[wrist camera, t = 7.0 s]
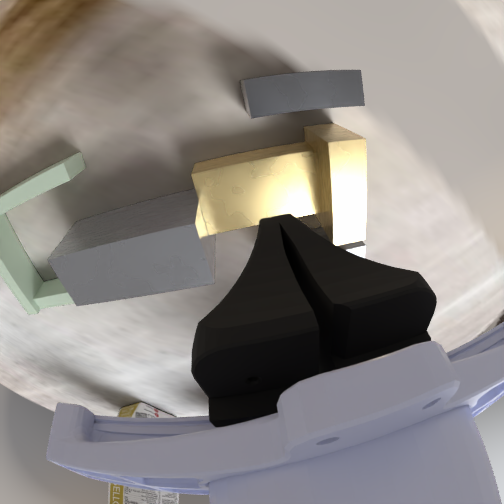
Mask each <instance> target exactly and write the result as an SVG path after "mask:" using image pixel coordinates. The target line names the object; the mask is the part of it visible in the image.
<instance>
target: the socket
mask: <svg viewBox="0 0 504 504" xmlns="http://www.w3.org/2000/svg"><path fill="white" fill-rule="evenodd" d="M240 83H241V88H242V93H243V98H244V103H245V107H246V112H247V113H248V115H249V116H250V117H251V118H257V117H263V116H269V115H275V114H282V113H289V112H296V111H304V110H313V109H323V108H335V107H349V106H365V104H364V93H363V84H362V76H361V70H327V71H311V72H298V73H288V74H280V75H272V76H265V77H258V78H252V79H246V80H240ZM311 230H313V231H314V232H315V233H317V234H318V235H320V236H321V237H323V238H325V239H326V240H328V241H329V242H331V241H330V239H329V237H328V236H327V234H326V232H325V231H324V229H323V227H320V228H315V229H311ZM331 243H332V242H331ZM338 247H340V248H342V249H344V250H346V251H348V252H351V253H353V254H355V255H358V256H360V257H363V258H365V249H366V245H365V244H364V243H363V241H362V240H361V241H356V242H352V243H347V244H342V245H338Z"/></svg>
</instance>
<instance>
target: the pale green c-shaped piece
mask: <svg viewBox="0 0 504 504" xmlns="http://www.w3.org/2000/svg"><path fill="white" fill-rule="evenodd" d="M85 168H86V166H85V163H84V160H83V157H82V154H81V152H79V153H77V154H74V155H72V156H70V157H68V158H66V159H64V160H62V161H60V162H58V163H56V164H54V165H52V166H50V167H48V168H46V169H44V170H42V171H40V172H38V173H37V174H35V175H33V176H31V177H29V178H28V179H26V180H24V181H22V182H21V183H19V184H17V185H16V186H14V187H12V188H11V189H9V190H7V191H6V192H4V193H3V194H1V195H0V275H1V276H2V278H3V280H4V281H5V283H6V284H7V286H8V287H9V289H10V290H11V291H12V293H13V294H14V296H15V297H16V298H17V300H18V301H19V303H20V304H21V305H22V307H23V308H24V309H25V311H26V312H27V313H28V314H29V315H31V314H38V313H39V311H40V309H43V308H49V307H55V306H61V305H67V304H74V301H73V300H72V298H71V297H70V295H69V294H68V292H67V291H66V289H65V288H64V286H63V285H62V283H61V282H60V280H59V278H57V279H53V280H49V281H45V282H43V280H42V278H41V277H40V275H39V274H38V272H37V271H36V269H35V267H34V266H33V264H32V262H31V261H30V259H29V257H28V256H27V254H26V252H25V251H24V249H23V247H22V245H21V243H20V242H19V240H18V238H17V236H16V234H15V232H14V230H13V228H12V226H11V224H10V222H9V220H8V218H7V216H6V214H5V213H6V212H7V211H9V210H11V209H13V208H15V207H17V206H18V205H20V204H22V203H24V202H26V201H28V200H30V199H32V198H34V197H36V196H38V195H40V194H42V193H44V192H46V191H48V190H50V189H52V188H55V187H57V186H59V185H61V184H63V183H66V182H68V181H70V180H71V179H73V178H74V177H75V176H76V175H78V174H79V173H80V172H81V171H82V170H84V169H85Z"/></svg>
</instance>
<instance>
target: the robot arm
mask: <svg viewBox="0 0 504 504" xmlns="http://www.w3.org/2000/svg"><path fill="white" fill-rule="evenodd" d="M436 303H437V301H436V295H435V294H434V292H433V291H432V289H431V288H430V286H429V285H428V283H427V282H426V281H425V279H424V278H423V277H422V276H421V275H420V274H419V272H415V271H410V270H405V269H400V268H395V267H391V266H387V265H384V264H380V263H377V262H374V261H371V260H368V259H366V258H363V257H360V256H358V255H355V254H353V253H351V252H348V251H346V250H344V249H342V248H340V247H338V246H336V245H335V244H333V243H331V242H329V241H328V240H326V239H325V238H323V237H321V236H320V235H318V234H317V233H315V232H314V231H313V230H311V229H310V228H309V227H307V226H306V225H305V224H303V223H302V222H301V221H300V220H298V219H297V218H296V217H295V216H293V215H292V214H291V213H287V214H282V215H277V216H272V217H267V218H262V219H261V220H260V221H259V230H258V235H257V239H256V242H255V245H254V248H253V251H252V253H251V256H250V258H249V260H248V263H247V265H246V267H245V268H244V270H243V272H242V274H241V276H240V277H239V279H238V280H237V282H236V283H235V285H234V286H233V288H232V289H231V290H230V292H229V293H228V294H227V295H226V296H225V297H224V299H223V300H222V301H221V302H220V303H219V304H218V305H217V306H216V307H215V308H214V309H213V310H212V311H211V312H210V313H209V314H208V315H207V316H206V317H204V318H203V319H202V320H201V321H200V322H199V323H198V326H197V329H196V333H195V338H194V342H193V348H192V368H191V372H192V374H193V377H194V379H195V380H196V381H197V383H198V384H199V386H200V387H201V388H202V389H203V391H204V392H205V393H206V395H207V396H208V397H209V416H196V417H175V418H131V417H111V416H98V415H94V414H93V413H92V412H91V411H90V410H88V409H87V408H85V407H83V406H81V405H77V404H68V403H60V402H59V403H57V406H56V410H55V414H54V419H53V423H52V427H51V432H50V437H49V442H48V448H47V454H46V458H47V460H49V461H51V462H53V463H55V464H57V465H59V466H61V467H64V468H66V469H68V470H71V471H73V472H75V473H78V474H80V475H83V476H85V477H88V478H91V479H96V480H99V481H104V482H109V483H113V484H118V485H123V486H128V487H134V488H140V489H147V490H154V491H161V492H171V493H183V494H204V495H209V498H210V504H502V503H501V499H500V495H499V491H498V487H497V484H496V480H495V476H494V473H493V470H492V467H491V464H490V461H489V458H488V455H487V452H486V449H485V446H484V443H483V441H482V438H481V436H480V433H479V430H478V428H477V425H476V423H475V421H474V418H473V417H475V416H476V415H478V414H479V413H481V412H482V411H484V410H485V409H486V408H487V407H489V406H490V405H492V404H493V403H494V402H496V401H497V400H498V399H500V398H501V397H502V396H503V395H504V322H503V323H501V324H500V325H498V326H496V327H495V328H493V329H491V330H489V331H488V332H486V333H484V334H482V335H481V336H479V337H477V338H475V339H473V340H471V341H469V342H468V343H466V344H464V345H462V346H460V347H458V348H456V349H454V350H452V351H450V352H447V353H446V352H445V351H444V349H443V347H442V345H440V344H438V343H437V342H435V341H431V337H430V336H429V334H428V332H427V328H428V326H429V324H430V321H431V319H432V316H433V314H434V311H435V307H436Z"/></svg>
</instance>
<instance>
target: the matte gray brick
mask: <svg viewBox="0 0 504 504" xmlns="http://www.w3.org/2000/svg"><path fill="white" fill-rule="evenodd" d="M215 241H216V238H215V235H214V234H212V235H209V233H208V230H207V227H206V223H205V220H204V217H203V213H202V210H201V207H200V203H199V200H198V197H197V193H196V190H195V189H191V190H187V191H183V192H178V193H174V194H170V195H166V196H162V197H158V198H155V199H151V200H147V201H143V202H140V203H136V204H132V205H129V206H125V207H122V208H118V209H115V210H112V211H108V212H105V213H102V214H98V215H95V216H92V217H89V218H86V219H83V220H79V221H76V223H75V224H74V225H73V226H72V228H71V229H70V230H69V231H68V233H67V234H66V235H65V237H64V238H63V239H62V241H61V242H60V243H59V245H58V246H57V247H56V249H55V250H54V251H53V253H52V254H51V256H50V257H49V258H48V262H49V264H50V265H51V267H52V269H53V270H54V272H55V273H56V275H57V277H58V278H59V280H60V282H61V283H62V285H63V286H64V288H65V289H66V291H67V292H68V294H69V295H70V297H71V298H72V300H73V301H74V303H75V304H76V306H81V305H88V304H95V303H101V302H108V301H114V300H121V299H127V298H133V297H140V296H146V295H152V294H158V293H164V292H170V291H176V290H182V289H187V288H193V287H199V286H204V285H210V284H215Z"/></svg>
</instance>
